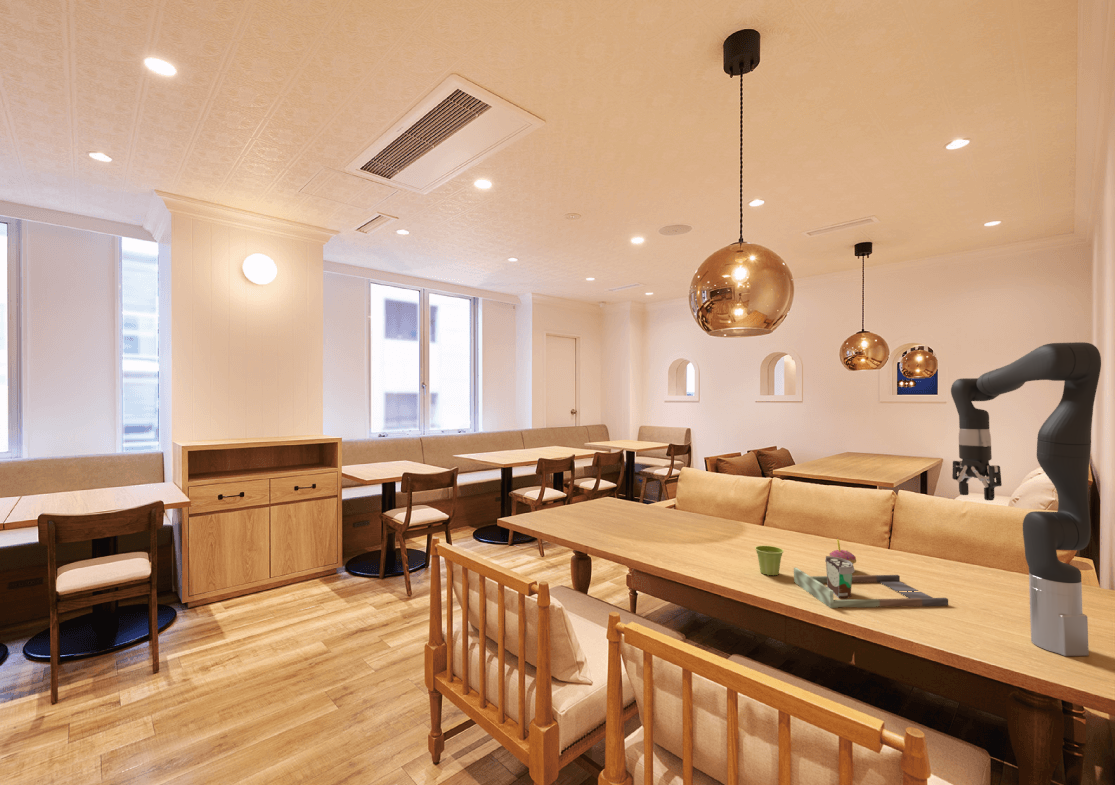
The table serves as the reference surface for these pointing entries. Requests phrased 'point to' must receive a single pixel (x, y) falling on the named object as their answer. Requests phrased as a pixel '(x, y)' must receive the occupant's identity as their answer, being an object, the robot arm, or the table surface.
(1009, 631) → the table surface
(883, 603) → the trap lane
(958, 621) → the table surface
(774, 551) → the plant pot
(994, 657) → the table surface
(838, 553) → the cupcake
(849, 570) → the food container
